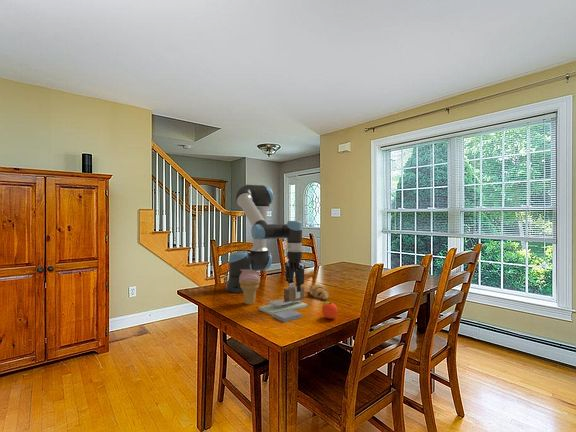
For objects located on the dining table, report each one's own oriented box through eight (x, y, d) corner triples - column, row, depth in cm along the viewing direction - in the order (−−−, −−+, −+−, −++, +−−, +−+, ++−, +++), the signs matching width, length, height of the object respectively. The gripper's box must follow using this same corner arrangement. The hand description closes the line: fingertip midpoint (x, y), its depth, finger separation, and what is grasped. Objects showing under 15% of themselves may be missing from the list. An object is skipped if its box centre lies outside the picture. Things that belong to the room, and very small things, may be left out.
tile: (290, 313, 143) (273, 318, 136) (290, 309, 143) (273, 313, 136) (301, 318, 136) (284, 323, 130) (301, 313, 136) (284, 318, 130)
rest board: (258, 309, 148) (258, 307, 148) (293, 301, 161) (293, 299, 161) (272, 315, 139) (272, 312, 139) (307, 306, 153) (307, 304, 153)
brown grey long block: (297, 297, 160) (297, 285, 160) (305, 299, 155) (305, 287, 155) (268, 303, 148) (268, 291, 148) (275, 306, 143) (275, 293, 143)
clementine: (317, 316, 137) (317, 301, 137) (328, 314, 141) (328, 298, 141) (329, 322, 131) (329, 305, 131) (340, 318, 135) (341, 302, 135)
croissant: (331, 307, 164) (337, 293, 165) (316, 299, 161) (322, 285, 162) (315, 296, 184) (320, 284, 185) (301, 289, 181) (307, 277, 182)
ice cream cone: (236, 301, 161) (237, 264, 161) (256, 299, 165) (256, 262, 165) (241, 307, 151) (241, 267, 151) (262, 305, 155) (262, 265, 155)
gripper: (278, 250, 159) (278, 294, 159) (300, 253, 146) (300, 301, 146) (289, 249, 164) (289, 292, 163) (311, 251, 150) (311, 299, 150)
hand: (294, 296), depth 154 cm, fingers closed on brown grey long block, 4 cm apart
